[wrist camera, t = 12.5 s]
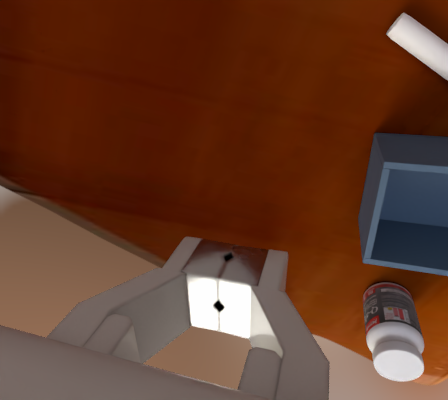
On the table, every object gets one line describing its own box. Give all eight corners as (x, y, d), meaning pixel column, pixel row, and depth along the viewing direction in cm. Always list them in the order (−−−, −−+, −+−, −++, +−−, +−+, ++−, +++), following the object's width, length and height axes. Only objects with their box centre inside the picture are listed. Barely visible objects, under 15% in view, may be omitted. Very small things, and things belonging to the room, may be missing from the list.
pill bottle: (363, 278, 43) (369, 341, 34) (414, 282, 41) (434, 350, 32) (361, 313, 45) (367, 380, 37) (409, 317, 43) (427, 389, 35)
